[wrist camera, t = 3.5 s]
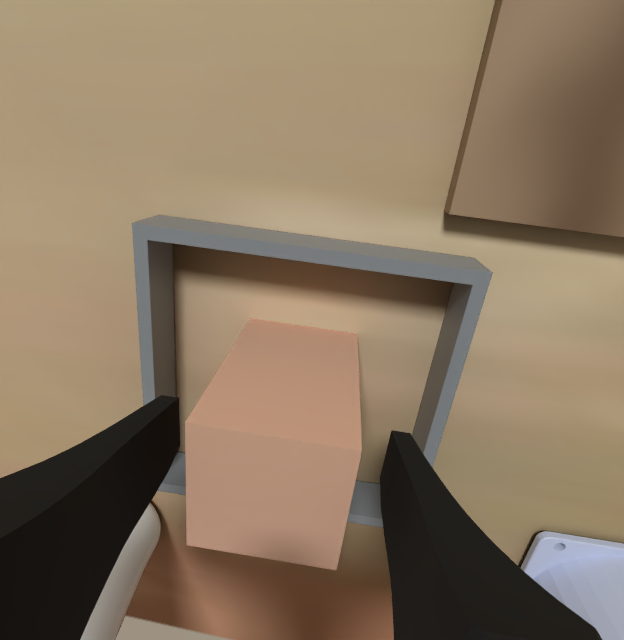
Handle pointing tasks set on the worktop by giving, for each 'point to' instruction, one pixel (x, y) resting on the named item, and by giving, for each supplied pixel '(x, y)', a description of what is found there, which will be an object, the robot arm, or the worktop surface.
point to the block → (276, 446)
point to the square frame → (164, 230)
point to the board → (547, 119)
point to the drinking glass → (124, 579)
